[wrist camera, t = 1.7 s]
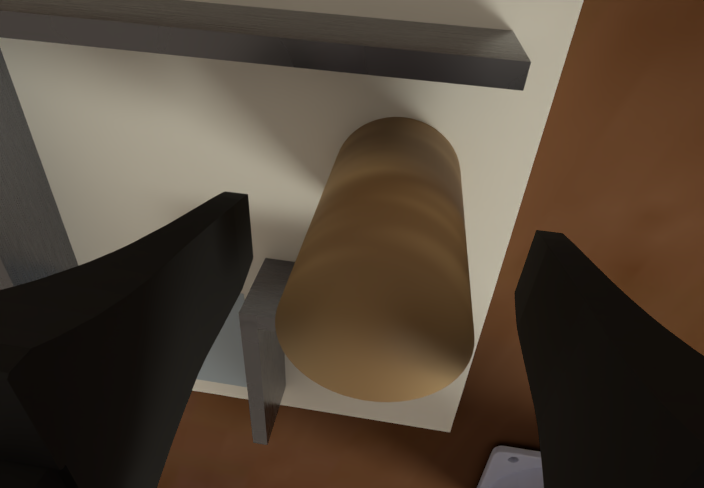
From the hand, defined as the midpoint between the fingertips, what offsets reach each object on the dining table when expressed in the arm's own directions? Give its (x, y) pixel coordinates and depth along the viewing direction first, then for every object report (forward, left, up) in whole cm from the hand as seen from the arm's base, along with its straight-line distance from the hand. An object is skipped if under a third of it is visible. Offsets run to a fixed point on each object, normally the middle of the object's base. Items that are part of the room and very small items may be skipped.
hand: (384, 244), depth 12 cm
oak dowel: (0, 0, -4) cm, 4 cm away
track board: (+5, +4, -5) cm, 8 cm away
